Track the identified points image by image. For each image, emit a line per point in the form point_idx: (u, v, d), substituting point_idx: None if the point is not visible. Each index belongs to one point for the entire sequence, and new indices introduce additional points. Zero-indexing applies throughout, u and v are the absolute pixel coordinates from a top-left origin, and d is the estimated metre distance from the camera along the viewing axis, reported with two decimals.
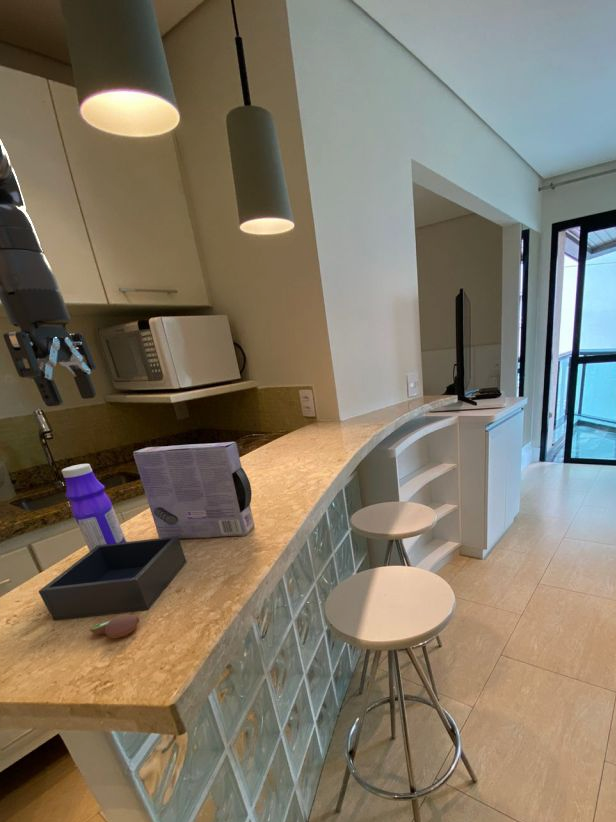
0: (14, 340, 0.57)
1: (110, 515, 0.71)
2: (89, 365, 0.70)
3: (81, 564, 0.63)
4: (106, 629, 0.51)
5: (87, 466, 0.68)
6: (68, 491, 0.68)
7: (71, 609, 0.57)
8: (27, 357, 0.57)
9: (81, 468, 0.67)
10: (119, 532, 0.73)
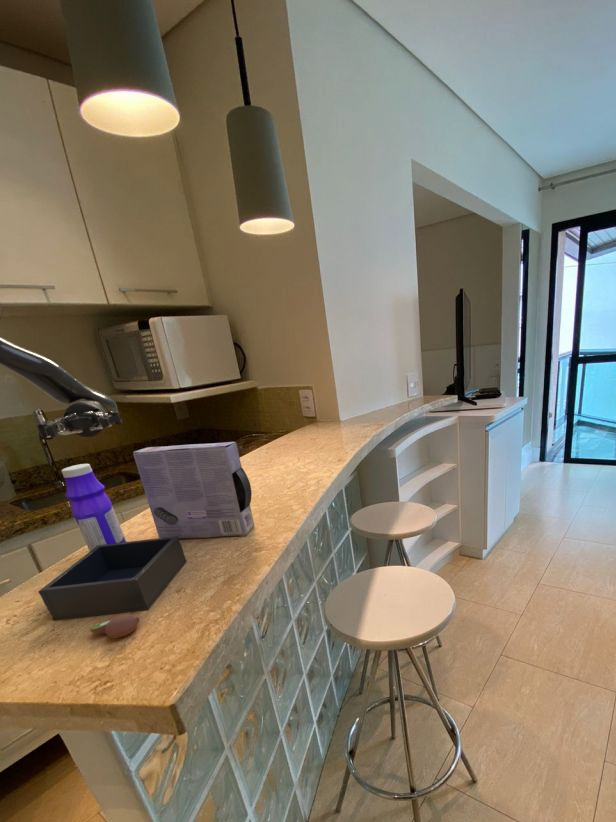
0: None
1: (110, 515, 0.71)
2: None
3: (81, 564, 0.63)
4: (106, 629, 0.51)
5: (87, 466, 0.68)
6: (68, 491, 0.68)
7: (71, 609, 0.57)
8: None
9: (81, 468, 0.67)
10: (119, 532, 0.73)
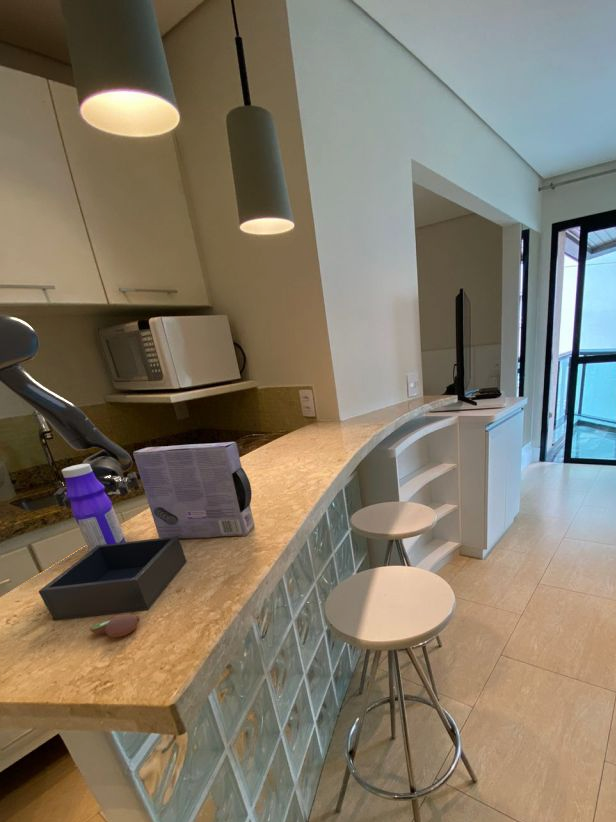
0: None
1: (110, 515, 0.71)
2: None
3: (81, 564, 0.63)
4: (106, 628, 0.51)
5: (87, 466, 0.68)
6: (68, 491, 0.68)
7: (71, 609, 0.57)
8: (139, 484, 0.86)
9: (81, 468, 0.67)
10: (119, 532, 0.73)
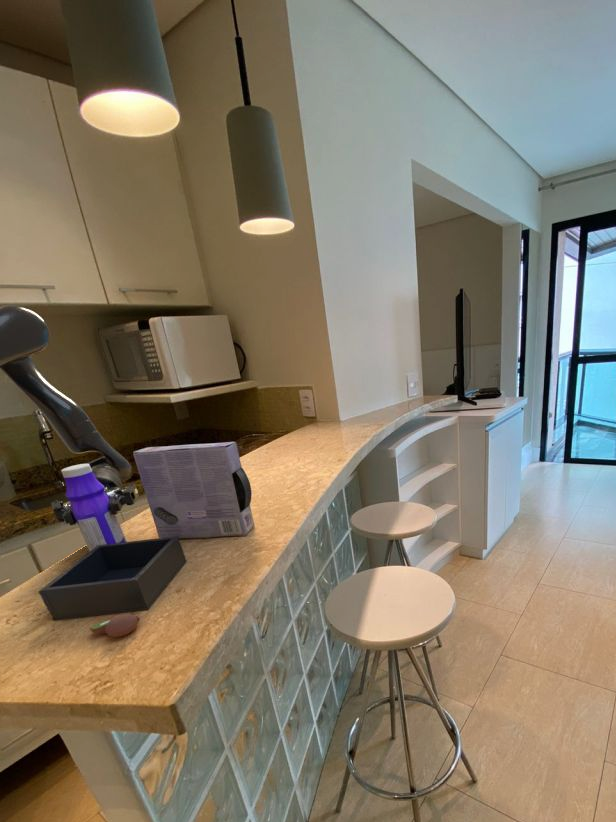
0: (136, 491, 0.79)
1: (110, 515, 0.71)
2: None
3: (81, 564, 0.63)
4: (106, 628, 0.51)
5: (87, 466, 0.68)
6: (68, 491, 0.68)
7: (71, 609, 0.57)
8: (136, 499, 0.78)
9: (81, 468, 0.67)
10: (119, 532, 0.73)
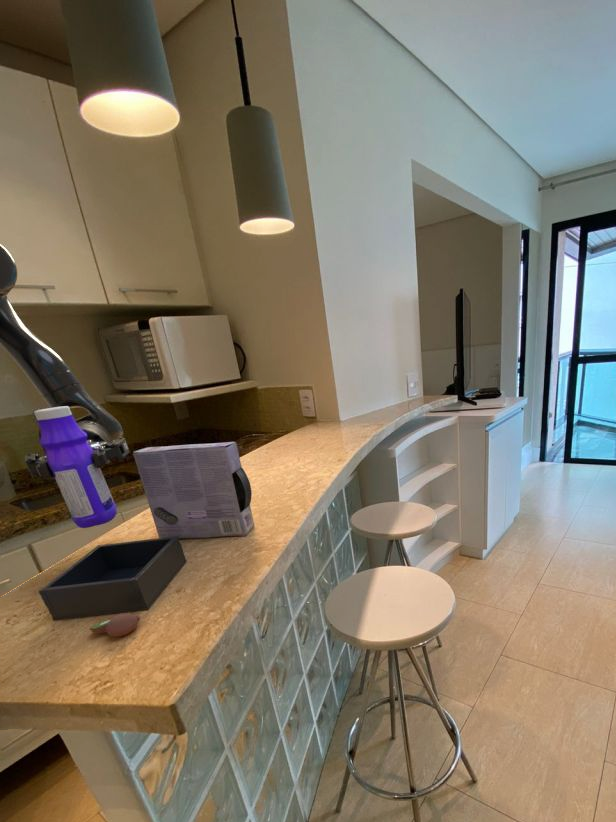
0: (126, 446, 0.68)
1: (94, 468, 0.60)
2: None
3: (81, 564, 0.63)
4: (107, 628, 0.51)
5: (65, 408, 0.57)
6: (42, 437, 0.56)
7: (71, 609, 0.57)
8: (125, 454, 0.67)
9: (58, 409, 0.56)
10: (105, 490, 0.62)
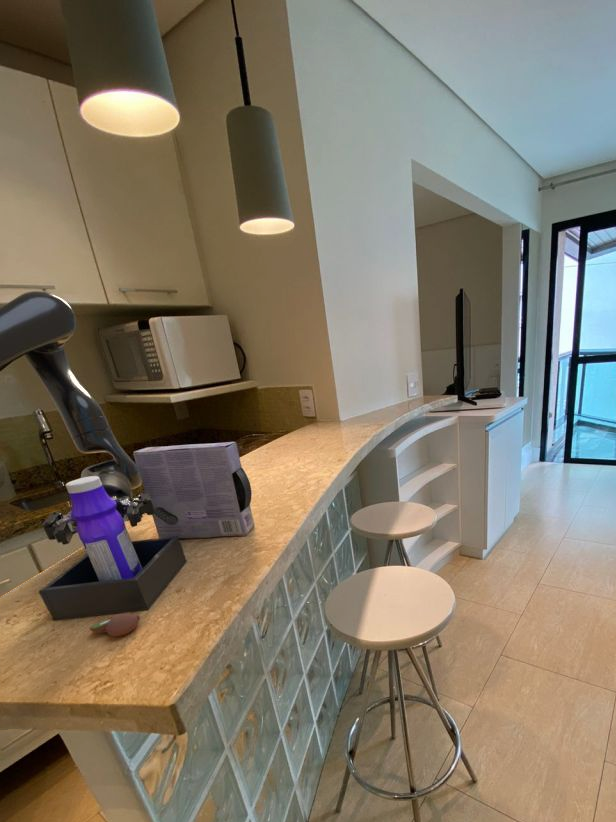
0: None
1: (124, 536, 0.60)
2: None
3: (81, 564, 0.63)
4: (107, 627, 0.51)
5: (96, 479, 0.57)
6: (74, 509, 0.57)
7: (71, 609, 0.57)
8: (153, 507, 0.67)
9: (89, 482, 0.56)
10: (133, 556, 0.62)
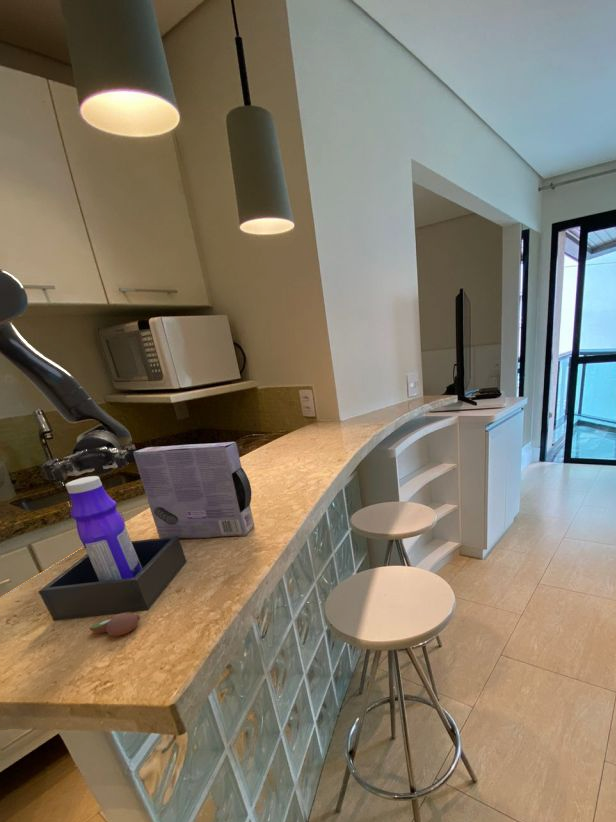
0: None
1: (124, 536, 0.60)
2: None
3: (81, 564, 0.63)
4: (107, 627, 0.52)
5: (96, 479, 0.57)
6: (73, 509, 0.57)
7: (71, 609, 0.57)
8: None
9: (89, 482, 0.56)
10: (133, 556, 0.62)
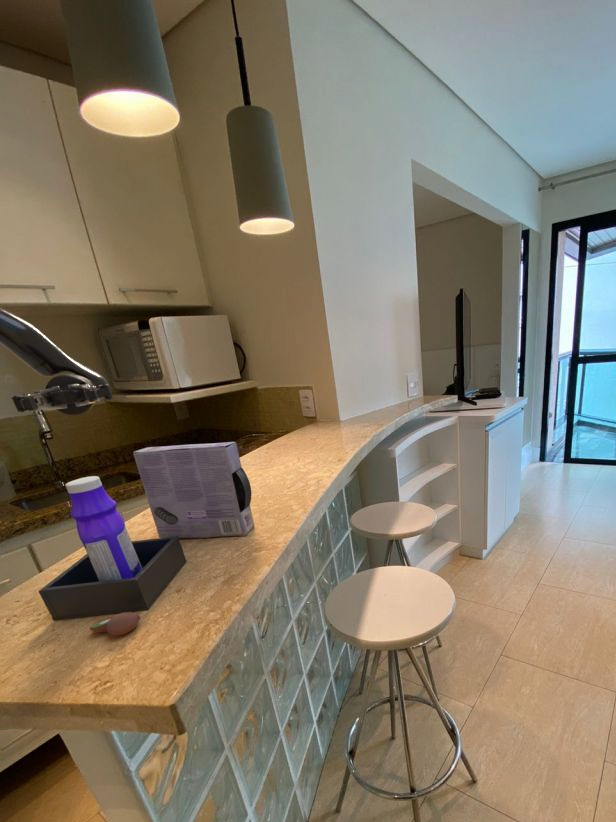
0: None
1: (124, 536, 0.60)
2: (26, 409, 0.70)
3: (81, 564, 0.63)
4: (107, 627, 0.52)
5: (96, 479, 0.57)
6: (73, 509, 0.57)
7: (71, 609, 0.57)
8: None
9: (89, 482, 0.56)
10: (133, 556, 0.62)
